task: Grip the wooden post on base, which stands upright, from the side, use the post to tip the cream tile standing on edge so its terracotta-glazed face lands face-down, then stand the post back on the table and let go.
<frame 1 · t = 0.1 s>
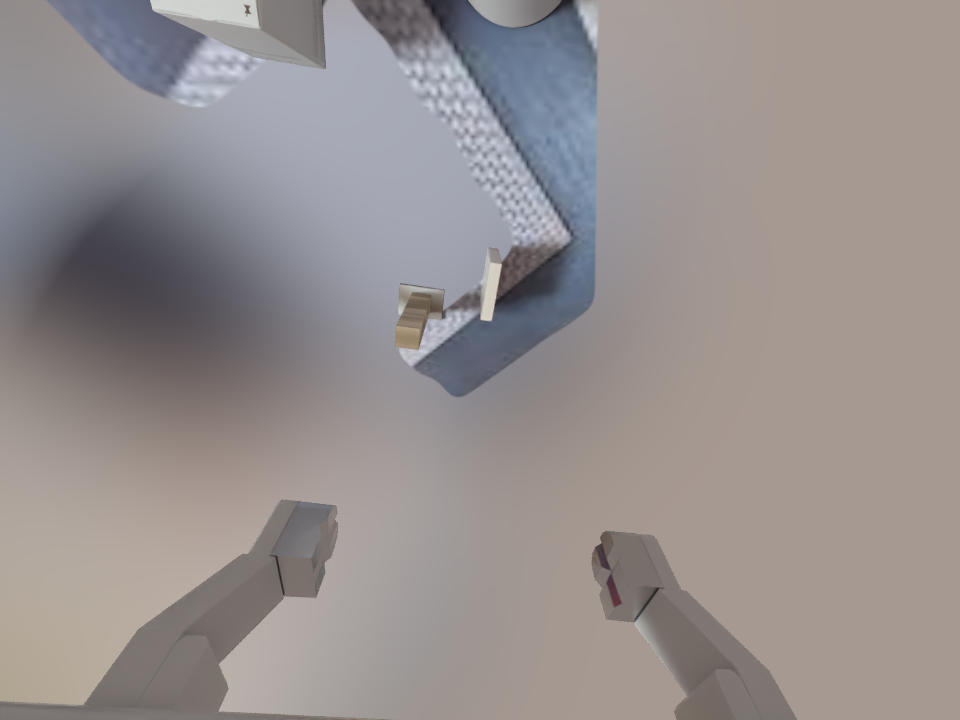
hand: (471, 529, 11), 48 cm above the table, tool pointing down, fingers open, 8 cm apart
wooden post on base: (421, 301, 58), on the table
tile: (488, 274, 56), on the table
supplement box: (285, 15, 41), on the table
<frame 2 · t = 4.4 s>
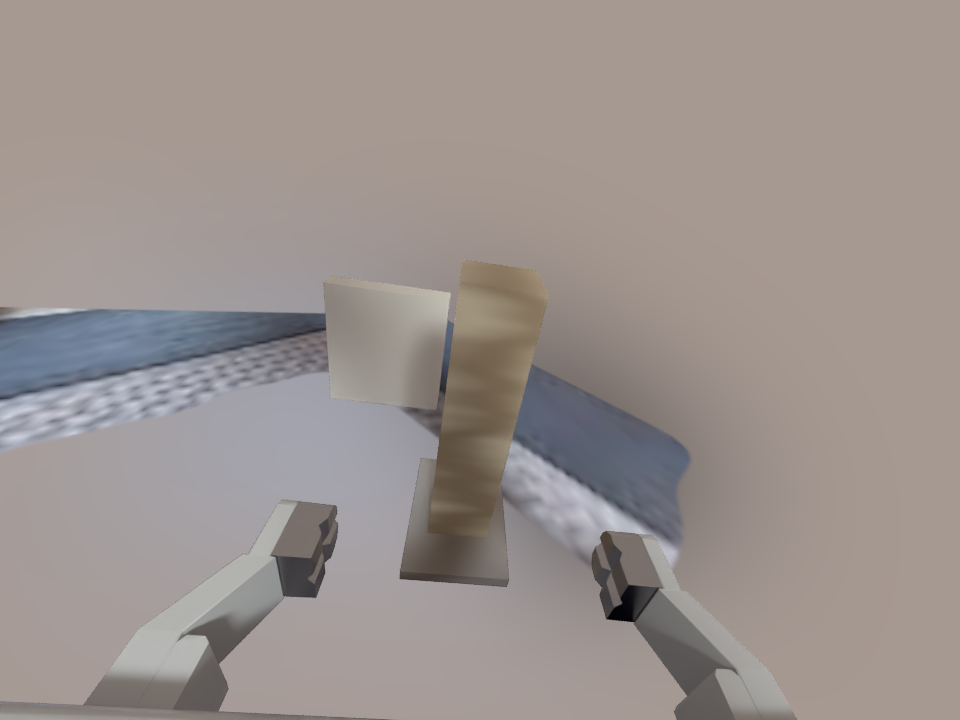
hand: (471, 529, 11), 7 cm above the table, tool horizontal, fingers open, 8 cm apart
wooden post on base: (457, 517, 20), on the table
tile: (386, 398, 28), on the table
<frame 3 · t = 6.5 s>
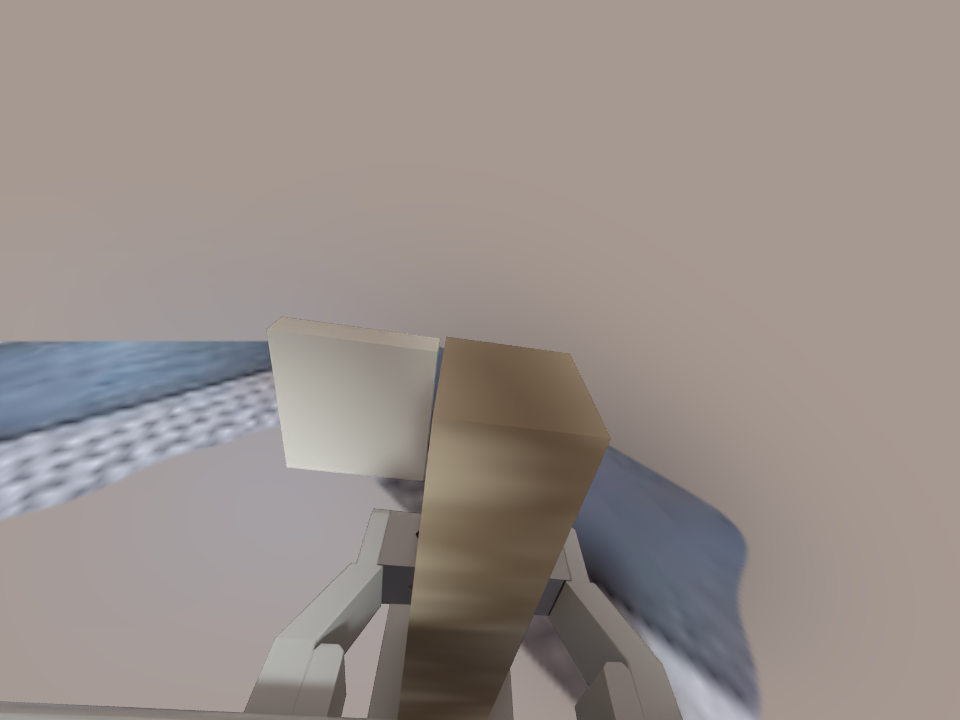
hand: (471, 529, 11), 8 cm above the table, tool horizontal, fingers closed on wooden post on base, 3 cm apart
wooden post on base: (443, 674, 14), on the table, touching gripper
tile: (359, 465, 22), on the table
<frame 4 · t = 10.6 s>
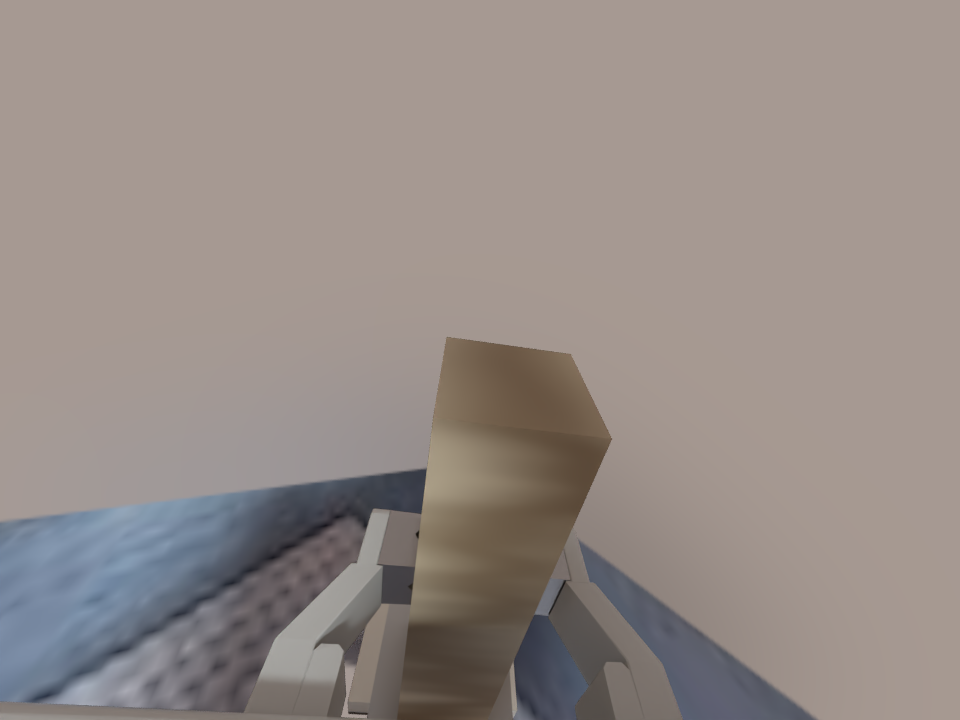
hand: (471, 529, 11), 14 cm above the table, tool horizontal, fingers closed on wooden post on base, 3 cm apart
wooden post on base: (442, 675, 14), point 6 cm above the table, touching gripper
tile: (432, 712, 17), on the table, tilted 90°
when the fingers open (9 cm above the table, at t = 14.2 s): wooden post on base drops 1 cm, on the table.
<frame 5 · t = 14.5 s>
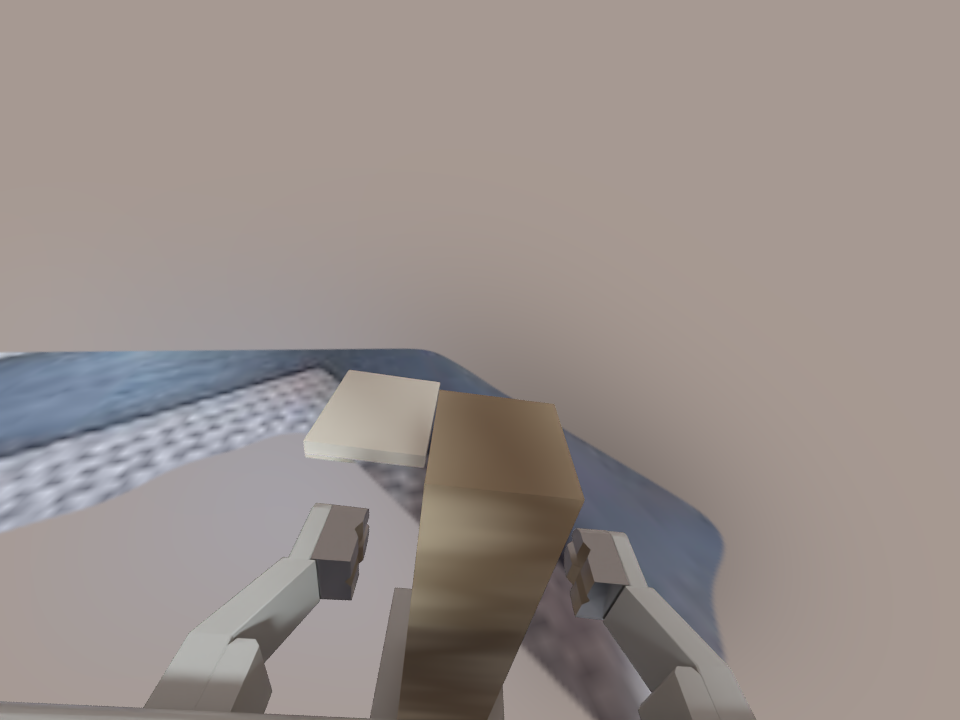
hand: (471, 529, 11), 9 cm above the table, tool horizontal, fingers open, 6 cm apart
wooden post on base: (439, 691, 14), on the table
tile: (365, 456, 24), on the table, tilted 90°
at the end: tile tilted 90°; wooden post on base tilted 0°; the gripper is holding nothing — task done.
